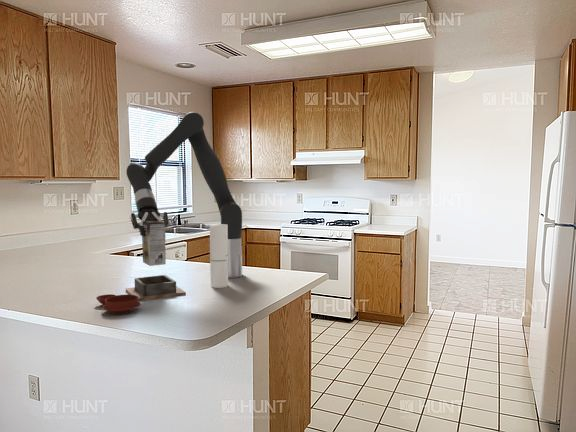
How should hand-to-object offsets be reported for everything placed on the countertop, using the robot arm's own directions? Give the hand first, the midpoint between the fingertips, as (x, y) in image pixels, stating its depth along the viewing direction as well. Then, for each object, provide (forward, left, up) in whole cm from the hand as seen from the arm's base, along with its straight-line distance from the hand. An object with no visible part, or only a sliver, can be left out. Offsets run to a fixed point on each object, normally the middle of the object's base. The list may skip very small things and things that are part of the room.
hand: (153, 235), depth 163 cm
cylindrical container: (-23, -11, -22) cm, 34 cm away
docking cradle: (0, 0, -22) cm, 22 cm away
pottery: (+7, +21, -23) cm, 32 cm away
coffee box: (0, -1, -11) cm, 11 cm away
